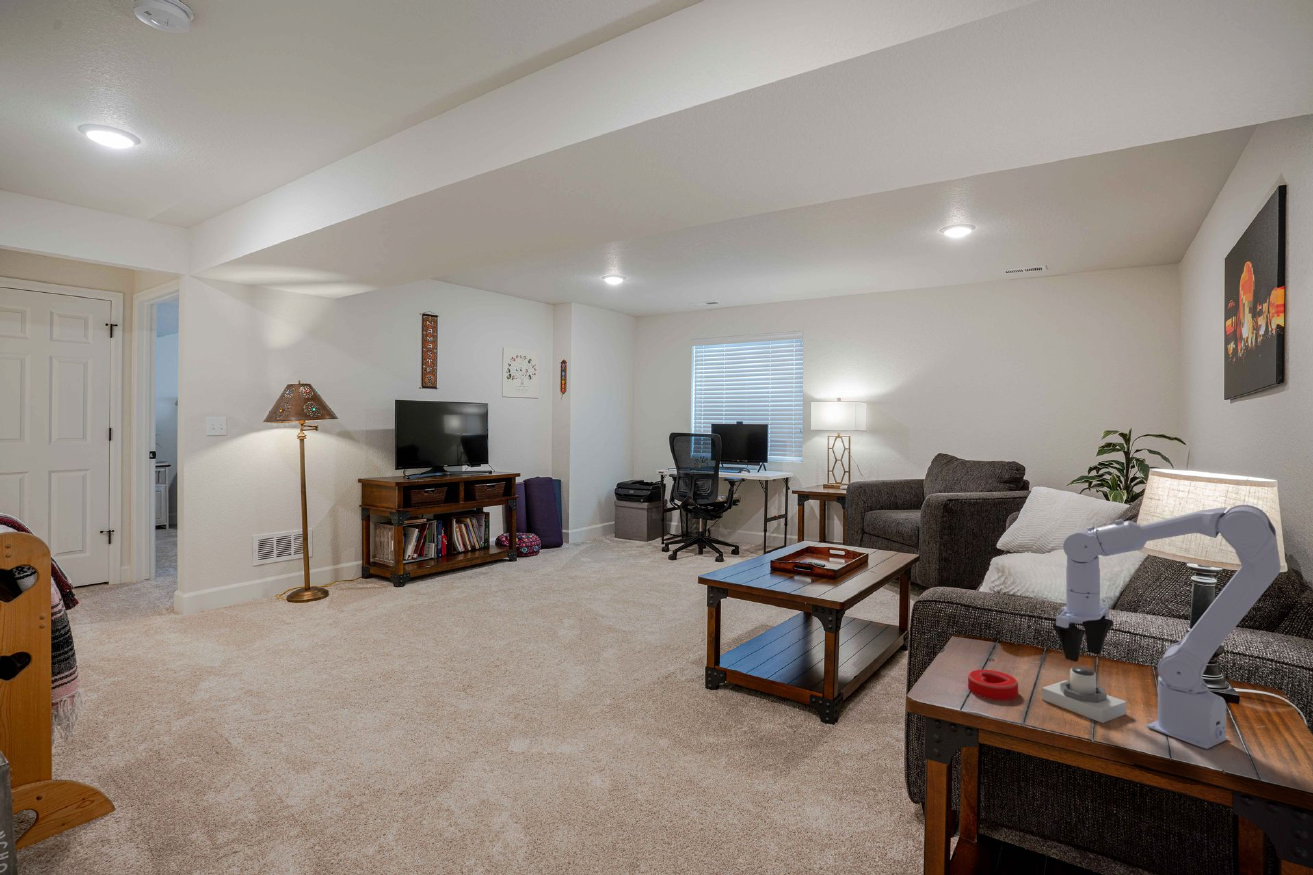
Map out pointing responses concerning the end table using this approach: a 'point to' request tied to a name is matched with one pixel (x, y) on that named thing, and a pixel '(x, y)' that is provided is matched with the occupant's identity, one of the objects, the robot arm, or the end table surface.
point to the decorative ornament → (993, 684)
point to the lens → (1083, 680)
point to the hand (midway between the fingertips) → (1083, 656)
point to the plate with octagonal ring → (1085, 702)
